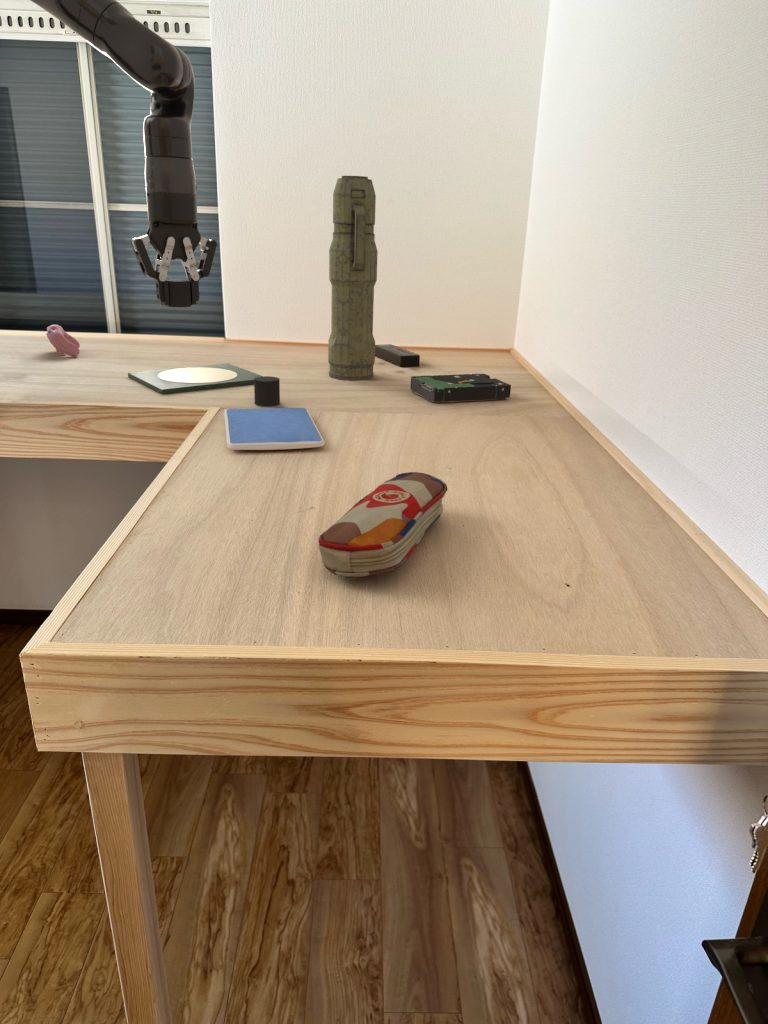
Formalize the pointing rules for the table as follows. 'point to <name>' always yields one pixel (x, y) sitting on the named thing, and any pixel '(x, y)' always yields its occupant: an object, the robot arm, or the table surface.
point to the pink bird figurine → (62, 341)
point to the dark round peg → (179, 293)
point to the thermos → (352, 279)
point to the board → (194, 378)
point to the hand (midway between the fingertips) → (178, 304)
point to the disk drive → (460, 387)
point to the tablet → (271, 429)
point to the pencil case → (383, 526)
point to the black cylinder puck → (267, 391)
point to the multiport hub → (397, 355)
